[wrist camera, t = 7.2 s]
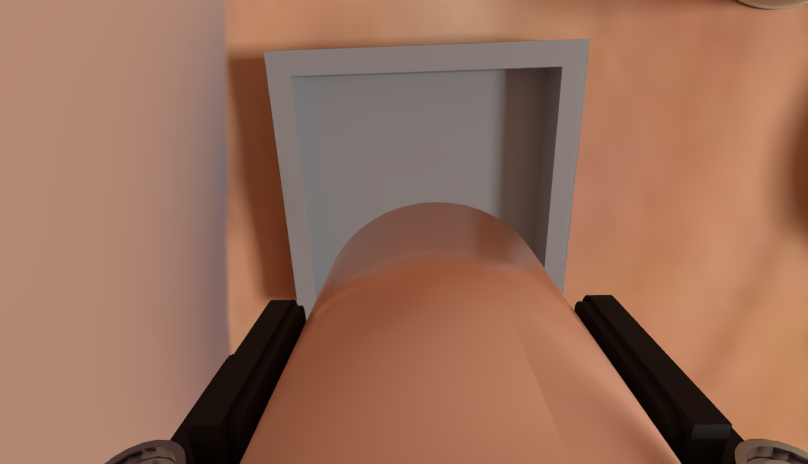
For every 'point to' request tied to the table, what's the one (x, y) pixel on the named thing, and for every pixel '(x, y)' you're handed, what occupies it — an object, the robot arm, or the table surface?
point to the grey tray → (426, 141)
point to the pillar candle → (774, 3)
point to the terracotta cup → (448, 358)
